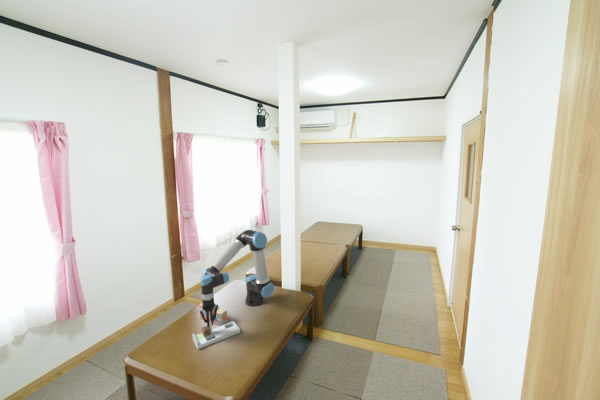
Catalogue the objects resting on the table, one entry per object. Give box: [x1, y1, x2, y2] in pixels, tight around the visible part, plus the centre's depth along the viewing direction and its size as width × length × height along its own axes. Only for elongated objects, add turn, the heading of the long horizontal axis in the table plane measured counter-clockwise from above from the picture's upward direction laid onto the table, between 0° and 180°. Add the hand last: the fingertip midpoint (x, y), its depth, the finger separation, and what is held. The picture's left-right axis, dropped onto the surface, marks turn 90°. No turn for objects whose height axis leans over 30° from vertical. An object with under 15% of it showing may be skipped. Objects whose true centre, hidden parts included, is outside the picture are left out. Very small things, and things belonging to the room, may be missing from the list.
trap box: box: [192, 320, 241, 350], centre depth 190 cm, size 29×12×4 cm, turn 125°
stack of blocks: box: [198, 302, 228, 326], centre depth 208 cm, size 21×6×12 cm, turn 64°
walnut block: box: [201, 326, 211, 337], centre depth 188 cm, size 4×4×4 cm
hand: (210, 330), depth 191 cm, fingers closed
